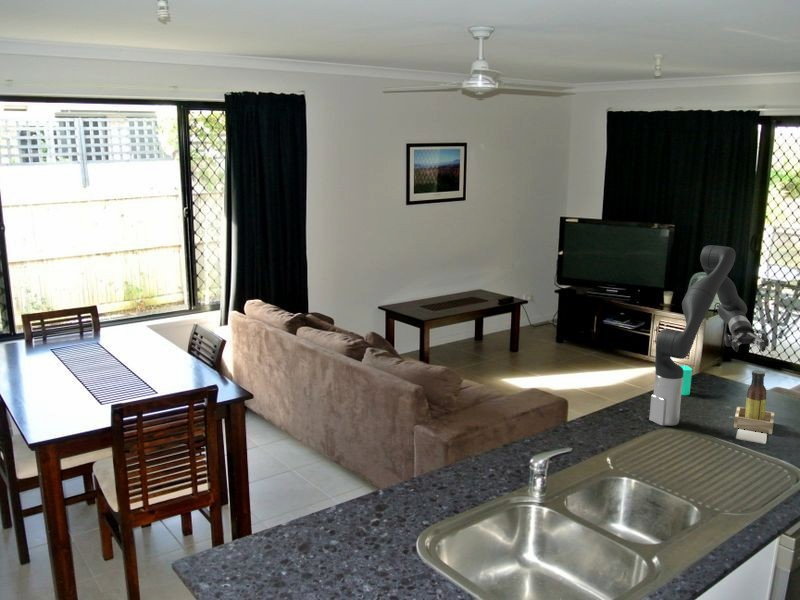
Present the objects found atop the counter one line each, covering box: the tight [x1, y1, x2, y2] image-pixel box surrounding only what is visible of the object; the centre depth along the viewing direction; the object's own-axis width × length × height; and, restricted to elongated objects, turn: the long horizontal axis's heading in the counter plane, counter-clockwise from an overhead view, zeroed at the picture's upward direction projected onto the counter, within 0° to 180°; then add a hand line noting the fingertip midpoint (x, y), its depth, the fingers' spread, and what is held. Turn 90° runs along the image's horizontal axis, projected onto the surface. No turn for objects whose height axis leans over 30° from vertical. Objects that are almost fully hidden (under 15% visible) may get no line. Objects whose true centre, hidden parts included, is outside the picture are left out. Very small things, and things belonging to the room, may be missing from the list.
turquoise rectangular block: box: [679, 363, 693, 396], centre depth 284 cm, size 6×6×12 cm
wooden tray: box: [733, 406, 775, 435], centre depth 251 cm, size 12×12×4 cm
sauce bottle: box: [745, 369, 767, 421], centre depth 249 cm, size 7×6×20 cm
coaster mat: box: [735, 428, 768, 445], centre depth 241 cm, size 9×9×1 cm
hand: (750, 349), depth 256 cm, fingers open, 8 cm apart
